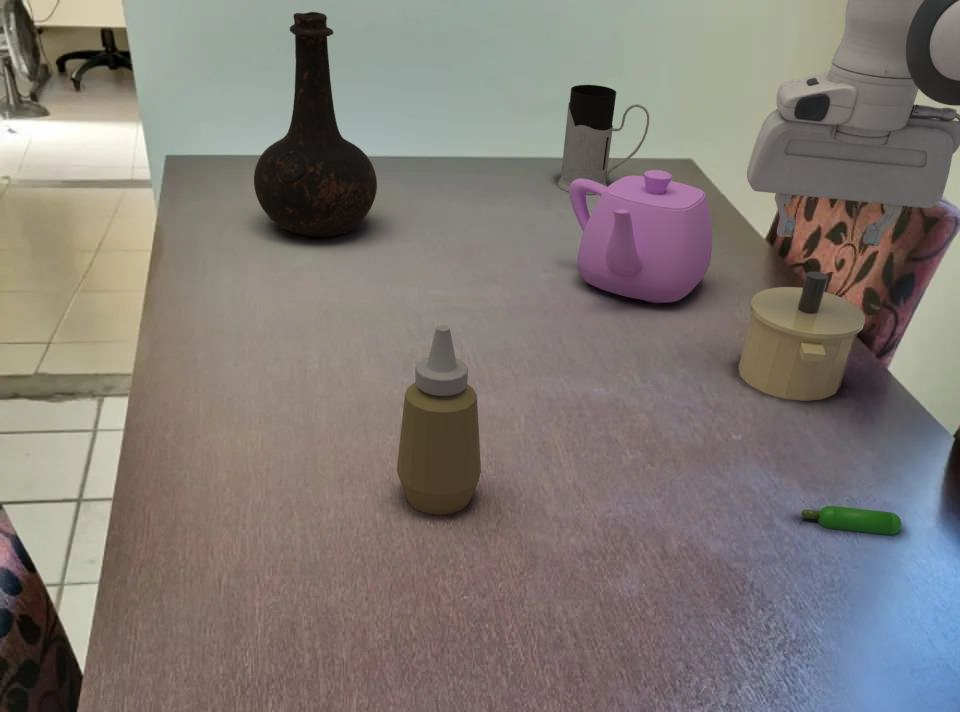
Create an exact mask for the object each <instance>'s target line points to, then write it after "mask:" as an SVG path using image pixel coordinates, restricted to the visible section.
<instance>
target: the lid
mask: <svg viewBox="0 0 960 712" xmlns="http://www.w3.org/2000/svg"><path fill="white" fill-rule="evenodd" d="M828 281H829V276H828V274H827V273H824V272H821V271H816V270H815V271H808V272H807V273H806V275H805V279H804V283H803V286H802V287H795V286H778V287H772V288H766V289H763V290H760V291H758V292H757V293H755V294H754V295H753V297H752V298H751V300H750V305H749V307H750V308H749V309H750V313H751V314H752V313H753V315H754V316H755V317H756V318H757V319H758V320H760V321H761V322H763V323H764V324H766V325H768V326H770V327H772V328H774V329H776V330H779V331H782V332H785V333H788V334H792V335H796V336H801V337H806V338H814V339H839V338H845V337H849V336H852V335H855V334H857V335H858V334H859V333H860V332H861V331H862V330H863V328H864V326H865V323H866V316H865V315H866V314H865V313H864V312H863V311H862V309H861V308H860V307H858V306H857V305H856V304H854V303H853V302H851V301H849V300H848V299H845V298H843V297H841V296H838V295H836V294H833V293H830V292H826V291H825V290H826V288H827V284H828Z"/></svg>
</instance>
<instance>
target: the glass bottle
mask: <svg viewBox="0 0 960 712" xmlns="http://www.w3.org/2000/svg"><path fill="white" fill-rule="evenodd" d="M292 17H293V22H294V24H292V25H291V26H289V32H290V33H292V35H294V46H295V49H294V50H295V52H294V53H295V72H294V95H293V98H294V99H293V104H292V105H293V107H292V115H291V120H290V123H289V124H290V125H289V127H288V131H287V133H286V134H285V135H284V136H283V137H282V138H280V139H279V140H277V141H275V142H273V143H272V144H271V145H269V146H268V147H267V148H266V149H265V150H264V151H263V152H262V154H261V155H260V156H259V158H258V160H257V163H256V165H255V168H254V174H253V187H254V192H255V195H256V198H257V201H258V203H259V205H260V207H261V208H262V210H263V212H264V213H265V214H266V215H267V216H268V218H269V219H270V220H272V222H274V223H275V224H276V225H277V226H279V227H280V228H282V229H284V230H286V231H288V232H291V233H294V234H296V235H301V236H307V237H318V238H325V237H327V238H328V237H337V236H341V235H345V234H346V233H349V232H350V231H351V230H353V229H355V228H356V227H357V226H358V225H360V223H361V222H362V221H363V220H364V219H365V218H366V216H367V215H368V214H369V212H370V210H371V209H372V207H373V204H374V202H375V199H376V195H377V191H378V190H377V189H378V180H377V174H376V171H375V168H374V165H373V163H372V161H371V160H370V158H369V157H368V156H367V154H366V153H365V152H364V151H363V150H362V149H361V148H360V147H359V146H357V145H356V144H354V143H352V142H351V141H349V140H347V139H345V138H344V137H343V136H342V134H341V132H340V130H339V127H338V123H337V118H336V113H335V105H334V99H333V91H332V83H331V82H332V81H331V72H330V71H331V70H330V60H329V59H330V58H329V48H328V37H330V36H332V35H334V30H333V29H332V28H330V27H328V25H327V19H328V17H327V15H326V14H324V13H322V12H318V11H309V12H304V13H303V12H295V13H294V14H293V15H292Z"/></svg>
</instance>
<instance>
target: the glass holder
mask: <svg viewBox="0 0 960 712" xmlns="http://www.w3.org/2000/svg"><path fill="white" fill-rule="evenodd" d="M616 98H617V91H616V90H615V89H614V88H611V87H608V86H604V85H597V84H578V85H574V86H572V87H571V88H570V95H569V102H568V104H567V113H566V123H565V134H564V142H563V143H564V144H563V153H562V162H561V173H560V177H559V180H558V181H557V187H558V188H560V189H561V190H562V191H565V192H566V193H569V188H570V185H571V183H572V182H573V181H574V180H576V179H581V178H582V179H588V180H592V181H595V182H597V183H600V184H602V185H604V186H607V187H608V184H607V180H608V179H609V174H610V173H611V172H612V171H614V170H615V169H616V168H618V167H619V166H621V165H623V164H624V163H625V162H627V161H628V160H629V159H631V158H632V157H633V156H635V155H636V154H637V152H638V151H639V150H640V148H641V146H642V145H643V143H644V141H645V140H646V136H647V134H648V130H649V125H650V114H649V111H648V109H647V108H646V107H645V106H644V105H642V104H638V103H635V104H631V105H629V106H628V107H627V108H626V109H625V110H624V113H623V115H622V118H621V124H620V127H618V128H614V126H613V122H614V115H615V107H616V106H615V105H616ZM633 108H640V109H641V110H643V111H644V112H645V115H646V126H645V129H644V133H643V135H642V138H641V140H640V142H638V143H639V144H638V145H637V147H636V148H635V149H634V151H632V152H631V153H630V154H628V156H627V157H625V158H624V159H623V160H621V161H619V162H618V163H617V164H615V165H614V166H612V167H611V168H610V169H609V170H608V168H609V159H610V152H611V145H612V138H613V132H620V131H621V130H622V129H623V128H624V127H625V121H626V117H627V114H628V112H629V111H630V110H631V109H633ZM589 195H590V196H592V195H593V196H594V195H596V194H595V193H592V192H587V193H586V196H589Z"/></svg>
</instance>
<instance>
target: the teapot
mask: <svg viewBox="0 0 960 712" xmlns="http://www.w3.org/2000/svg"><path fill="white" fill-rule="evenodd" d="M672 178H673V175H672V174H671V173H670V172H668V171H665V170H661V169H649V170H646V171H644V172H643V175H626V176H623V177H621V178H618V179H617V180H615V181H614V182H612V183H610V185H607V186H604V185H602V184H600V183H597V182H595V181H592V180H588V179H582V178H581V179H576V180H574V181H573V182H572V183H571V185H570V188H569V192H568V193H569V201H570V204H571V207H572V208H571V209H572V210H573V213H574V215H575V217H576V219H577V222H578V224H579V226H580V228H581V230H582V236H581V240H580V244H579V248H578V252H577V253H578V254H577V265H578V269H579V271H580V273H581V274H580V275H581V276H582V278H583V280H584V281H585V282H586V283H588V284H589V285H591V286H593V287H596V288H598V289H599V290H600V291H601V290H602V291H603V292H604V291H605V292H609V293H612V294H614V295H619V296H623V297H626V298H631V299H636V300H642V301H645V302H648V303H650V304H662V303H675V302H678V301H680V300H682V299H683V298H685V297H686V296H688V295H689V294H690V293H691V292H692V291H693V290H694V289H695V288H696V287H697V286H698V284H699V283H700V282H701V280H702V279H703V278H704V276H705V275H706V274H707V272H708V270H709V267H710V264H711V259H712V253H713V252H712V251H713V228H712V220H711V213H710V208H709V201H708V199H707V195H706V193H705V191H703V190H702V189H700V188H697V187H695V186H692V185H689V184H685V183H681V182H677V181H674V180H672ZM587 192H592V193H595V194H594V195H597V196H599V198H598V201H597V202H596V204H595V206H594V208H593V210H592V212H591V214H590V213H589V209H588V204H587V195H586V193H587Z"/></svg>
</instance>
